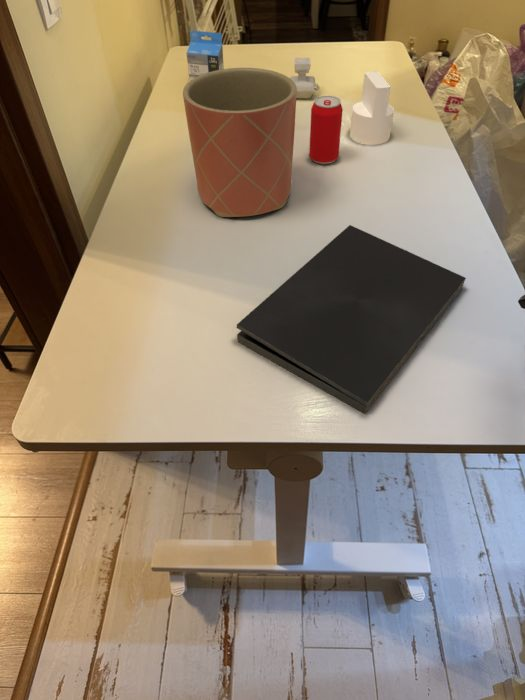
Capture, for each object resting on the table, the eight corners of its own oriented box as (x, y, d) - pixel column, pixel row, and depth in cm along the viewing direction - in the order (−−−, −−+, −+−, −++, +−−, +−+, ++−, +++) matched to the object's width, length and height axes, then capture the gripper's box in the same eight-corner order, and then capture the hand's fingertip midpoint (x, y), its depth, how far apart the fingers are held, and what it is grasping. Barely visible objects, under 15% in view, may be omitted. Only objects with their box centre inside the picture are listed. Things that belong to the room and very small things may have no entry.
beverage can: (338, 152, 112) (343, 94, 103) (338, 166, 108) (343, 107, 99) (309, 151, 113) (312, 94, 104) (308, 165, 109) (311, 107, 100)
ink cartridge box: (189, 86, 138) (183, 35, 129) (194, 81, 141) (189, 30, 132) (220, 90, 136) (216, 37, 127) (225, 84, 139) (222, 32, 130)
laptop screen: (236, 328, 72) (236, 324, 72) (349, 228, 88) (349, 224, 88) (366, 406, 64) (367, 403, 64) (464, 281, 80) (466, 277, 80)
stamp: (283, 101, 131) (283, 65, 125) (284, 90, 135) (285, 55, 129) (318, 101, 130) (320, 65, 124) (319, 91, 135) (321, 55, 128)
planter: (189, 178, 106) (175, 73, 91) (278, 165, 109) (279, 62, 94) (205, 230, 93) (192, 119, 79) (306, 213, 96) (311, 103, 82)
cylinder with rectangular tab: (395, 143, 115) (405, 86, 106) (355, 146, 114) (362, 89, 105) (382, 125, 121) (391, 70, 112) (345, 128, 120) (350, 73, 111)
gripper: (672, 142, 49) (516, 206, 62) (624, 235, 40) (451, 288, 52) (716, 240, 52) (558, 282, 65) (681, 350, 42) (503, 374, 55)
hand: (520, 302), depth 59 cm, fingers closed
